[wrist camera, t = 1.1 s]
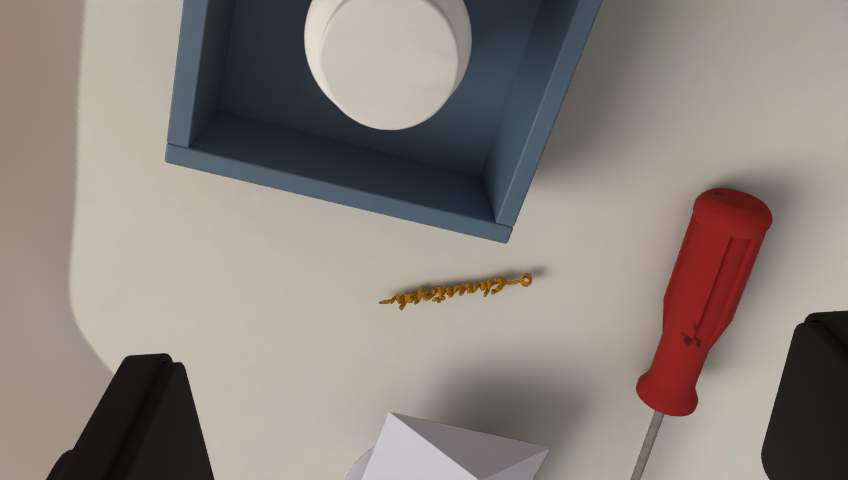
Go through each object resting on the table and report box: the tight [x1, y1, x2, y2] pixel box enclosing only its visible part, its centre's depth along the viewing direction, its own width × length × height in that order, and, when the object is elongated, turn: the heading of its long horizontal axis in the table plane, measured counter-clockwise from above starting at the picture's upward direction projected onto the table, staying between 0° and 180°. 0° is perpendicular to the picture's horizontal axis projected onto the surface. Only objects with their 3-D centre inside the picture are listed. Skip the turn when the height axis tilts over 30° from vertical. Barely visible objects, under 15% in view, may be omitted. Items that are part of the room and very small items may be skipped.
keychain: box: [379, 273, 532, 310], centre depth 33 cm, size 8×1×1 cm, turn 99°
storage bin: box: [165, 0, 602, 244], centre depth 25 cm, size 14×14×6 cm
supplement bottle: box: [304, 0, 472, 130], centre depth 23 cm, size 5×5×10 cm
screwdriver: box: [631, 188, 772, 480], centre depth 36 cm, size 4×25×4 cm, turn 174°
